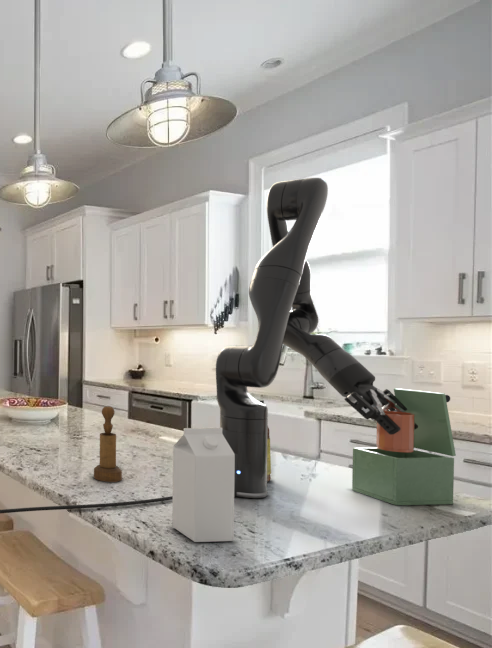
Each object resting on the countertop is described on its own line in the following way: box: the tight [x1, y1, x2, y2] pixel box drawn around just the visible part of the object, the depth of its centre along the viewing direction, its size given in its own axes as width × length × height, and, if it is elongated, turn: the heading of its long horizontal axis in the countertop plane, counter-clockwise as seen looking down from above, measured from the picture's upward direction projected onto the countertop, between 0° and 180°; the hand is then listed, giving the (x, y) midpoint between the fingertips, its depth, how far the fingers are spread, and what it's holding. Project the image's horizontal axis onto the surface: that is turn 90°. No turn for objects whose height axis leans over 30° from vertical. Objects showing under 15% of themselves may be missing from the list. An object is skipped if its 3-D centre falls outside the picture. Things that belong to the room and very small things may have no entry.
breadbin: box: [351, 446, 455, 506], centre depth 110 cm, size 13×11×10 cm
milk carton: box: [171, 427, 235, 543], centre depth 89 cm, size 7×7×19 cm
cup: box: [376, 410, 415, 453], centre depth 109 cm, size 6×6×8 cm
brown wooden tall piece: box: [93, 405, 123, 483], centre depth 125 cm, size 7×6×18 cm
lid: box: [393, 387, 457, 457], centre depth 110 cm, size 13×11×5 cm
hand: (404, 430), depth 107 cm, fingers closed on cup, 6 cm apart
